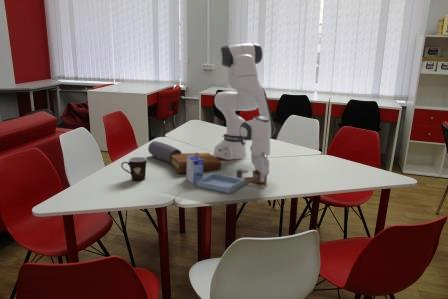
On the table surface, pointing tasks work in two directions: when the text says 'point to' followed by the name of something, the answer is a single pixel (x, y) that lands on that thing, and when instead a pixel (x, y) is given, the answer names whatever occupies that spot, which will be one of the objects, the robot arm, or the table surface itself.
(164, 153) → the bluetooth speaker
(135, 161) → the coffee mug
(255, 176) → the wooden mooncake mold
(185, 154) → the diary
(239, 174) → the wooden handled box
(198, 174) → the ink cartridge box
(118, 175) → the table surface
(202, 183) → the tray
